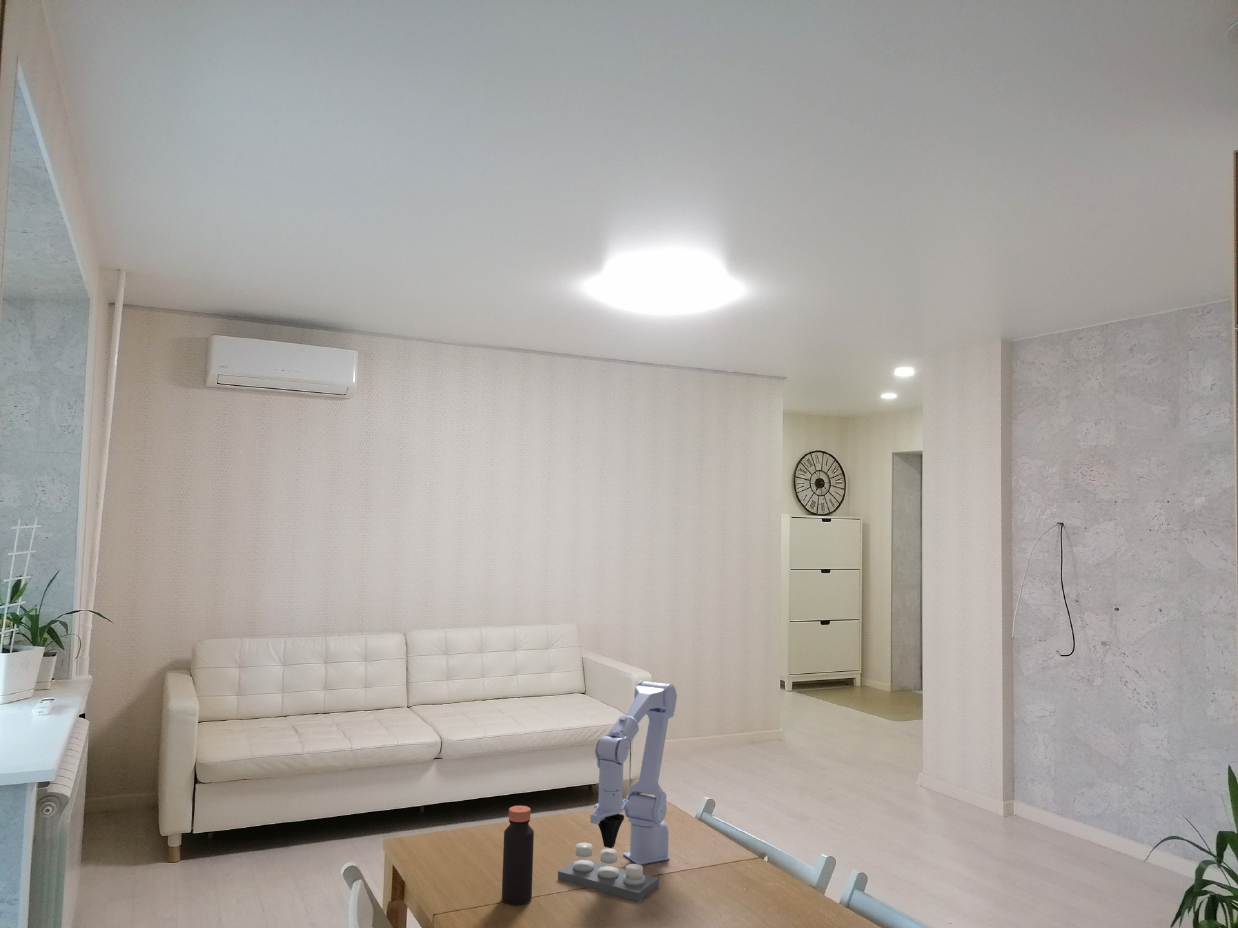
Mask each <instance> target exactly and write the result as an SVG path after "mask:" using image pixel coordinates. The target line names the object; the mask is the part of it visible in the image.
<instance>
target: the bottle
mask: <svg viewBox="0 0 1238 928" xmlns="http://www.w3.org/2000/svg"><path fill="white" fill-rule="evenodd" d="M531 810H532V809H531V807H529V806H528V805H514V806H511V807H508V822H509V825H508V826H507V827H506V828H505V829H504V832H503V853H502V882H501V883H502V884H501V901H502V902H503V903H504V904H506V905H509V906H523V905H526V904H529V903H530V902H531V901H532V899H533V896H532V895H533V871H534V870H533V866H534V837H535V836H534V835H535V830H534V829H533V828H532V827H531V825H529V823H530V822H531V812H532V811H531Z"/></svg>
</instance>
